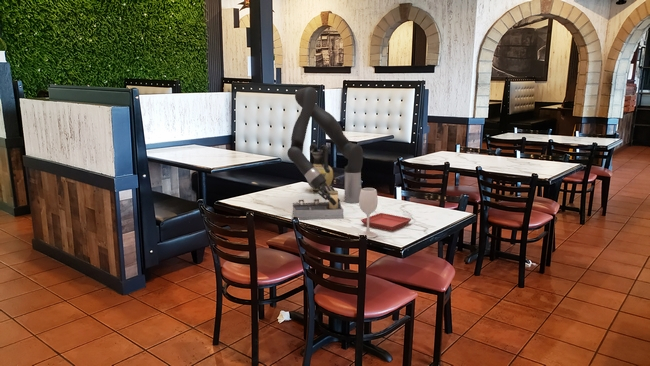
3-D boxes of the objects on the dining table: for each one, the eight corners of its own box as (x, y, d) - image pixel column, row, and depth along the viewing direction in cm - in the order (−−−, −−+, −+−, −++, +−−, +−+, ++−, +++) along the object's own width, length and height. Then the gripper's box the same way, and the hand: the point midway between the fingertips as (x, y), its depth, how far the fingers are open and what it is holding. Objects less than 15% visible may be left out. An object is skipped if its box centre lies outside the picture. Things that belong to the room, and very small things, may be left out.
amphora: (300, 192, 311) (299, 144, 305) (316, 187, 325) (316, 141, 318) (322, 196, 301) (322, 146, 295) (338, 191, 314) (339, 143, 308)
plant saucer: (380, 218, 253) (381, 212, 252) (412, 224, 242) (412, 218, 241) (359, 226, 239) (359, 219, 239) (391, 233, 228) (392, 226, 227)
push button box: (339, 211, 265) (339, 198, 263) (343, 218, 252) (343, 204, 251) (292, 213, 262) (292, 199, 260) (294, 220, 249) (293, 205, 248)
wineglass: (354, 235, 225) (354, 189, 220) (366, 231, 231) (367, 186, 226) (368, 239, 219) (369, 192, 214) (381, 235, 224) (382, 189, 220)
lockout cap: (337, 209, 258) (337, 190, 256) (338, 211, 254) (338, 192, 252) (328, 209, 257) (328, 190, 255) (329, 211, 253) (329, 192, 251)
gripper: (314, 175, 248) (336, 201, 246) (325, 171, 261) (347, 195, 259) (304, 185, 251) (326, 211, 249) (316, 180, 264) (337, 204, 262)
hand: (337, 203), depth 254 cm, fingers closed on lockout cap, 4 cm apart
